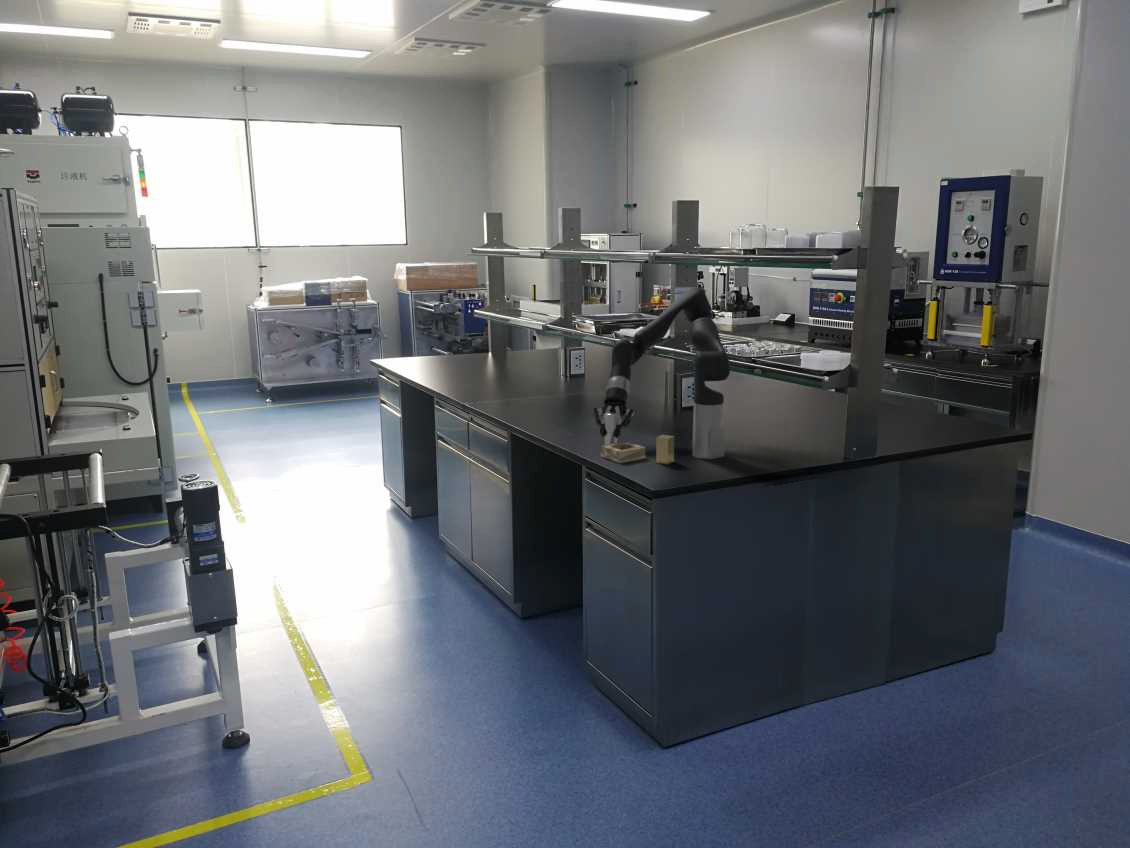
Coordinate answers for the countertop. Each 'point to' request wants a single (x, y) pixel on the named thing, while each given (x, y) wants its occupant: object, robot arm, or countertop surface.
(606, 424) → the cylinder
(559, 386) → the countertop surface
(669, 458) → the yellow brown rectangular block
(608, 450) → the socket block
